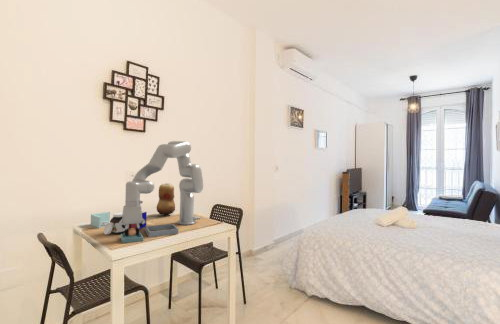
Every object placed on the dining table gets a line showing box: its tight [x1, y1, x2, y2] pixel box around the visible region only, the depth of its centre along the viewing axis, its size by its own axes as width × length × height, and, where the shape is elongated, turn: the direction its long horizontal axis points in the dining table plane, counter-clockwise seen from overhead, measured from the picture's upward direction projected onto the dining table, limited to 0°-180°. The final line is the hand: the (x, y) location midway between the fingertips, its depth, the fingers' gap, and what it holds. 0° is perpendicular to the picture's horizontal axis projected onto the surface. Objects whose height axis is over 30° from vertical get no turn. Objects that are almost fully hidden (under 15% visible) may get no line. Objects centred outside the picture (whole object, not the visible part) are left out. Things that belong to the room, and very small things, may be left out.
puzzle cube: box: [128, 210, 147, 230], centre depth 179 cm, size 10×10×10 cm
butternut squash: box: [156, 182, 176, 216], centre depth 216 cm, size 14×13×25 cm
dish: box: [120, 231, 144, 244], centre depth 156 cm, size 11×11×2 cm
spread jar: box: [103, 211, 129, 236], centre depth 166 cm, size 12×11×12 cm
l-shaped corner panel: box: [90, 211, 111, 229], centre depth 183 cm, size 12×12×8 cm
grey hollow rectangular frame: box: [144, 223, 179, 238], centre depth 171 cm, size 17×13×3 cm
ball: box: [128, 228, 136, 236], centre depth 156 cm, size 5×5×5 cm
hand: (131, 235), depth 156 cm, fingers closed on ball, 4 cm apart
